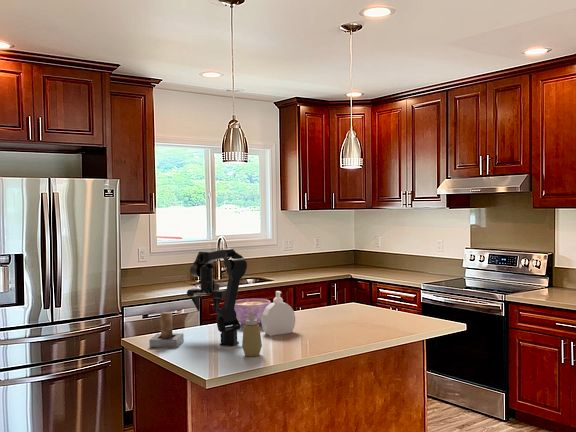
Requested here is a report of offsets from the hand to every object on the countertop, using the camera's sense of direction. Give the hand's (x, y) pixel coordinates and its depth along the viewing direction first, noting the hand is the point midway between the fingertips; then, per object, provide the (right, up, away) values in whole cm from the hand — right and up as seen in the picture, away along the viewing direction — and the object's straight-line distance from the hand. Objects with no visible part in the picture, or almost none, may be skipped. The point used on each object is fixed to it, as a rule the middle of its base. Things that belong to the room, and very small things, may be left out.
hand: (207, 311), depth 272 cm
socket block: (-16, -13, -12) cm, 24 cm away
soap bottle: (+33, -11, +5) cm, 36 cm away
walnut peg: (-16, -13, -12) cm, 24 cm away
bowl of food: (+19, -11, +27) cm, 35 cm away
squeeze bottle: (+23, -13, -33) cm, 42 cm away
